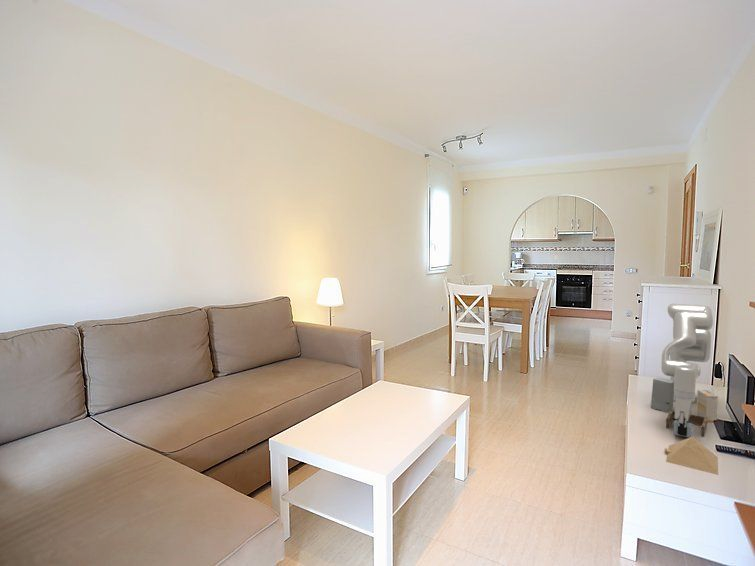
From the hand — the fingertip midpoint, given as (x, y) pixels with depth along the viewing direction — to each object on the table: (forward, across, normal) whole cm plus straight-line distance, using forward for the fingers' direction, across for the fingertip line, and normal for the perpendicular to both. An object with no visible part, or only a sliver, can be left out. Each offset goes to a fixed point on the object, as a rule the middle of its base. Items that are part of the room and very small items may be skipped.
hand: (683, 432), depth 181 cm
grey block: (+1, 0, 0) cm, 1 cm away
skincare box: (+2, -30, -12) cm, 32 cm away
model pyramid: (+2, +21, +5) cm, 22 cm away
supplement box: (+2, -29, +6) cm, 30 cm away
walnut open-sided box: (+2, -11, 0) cm, 12 cm away
